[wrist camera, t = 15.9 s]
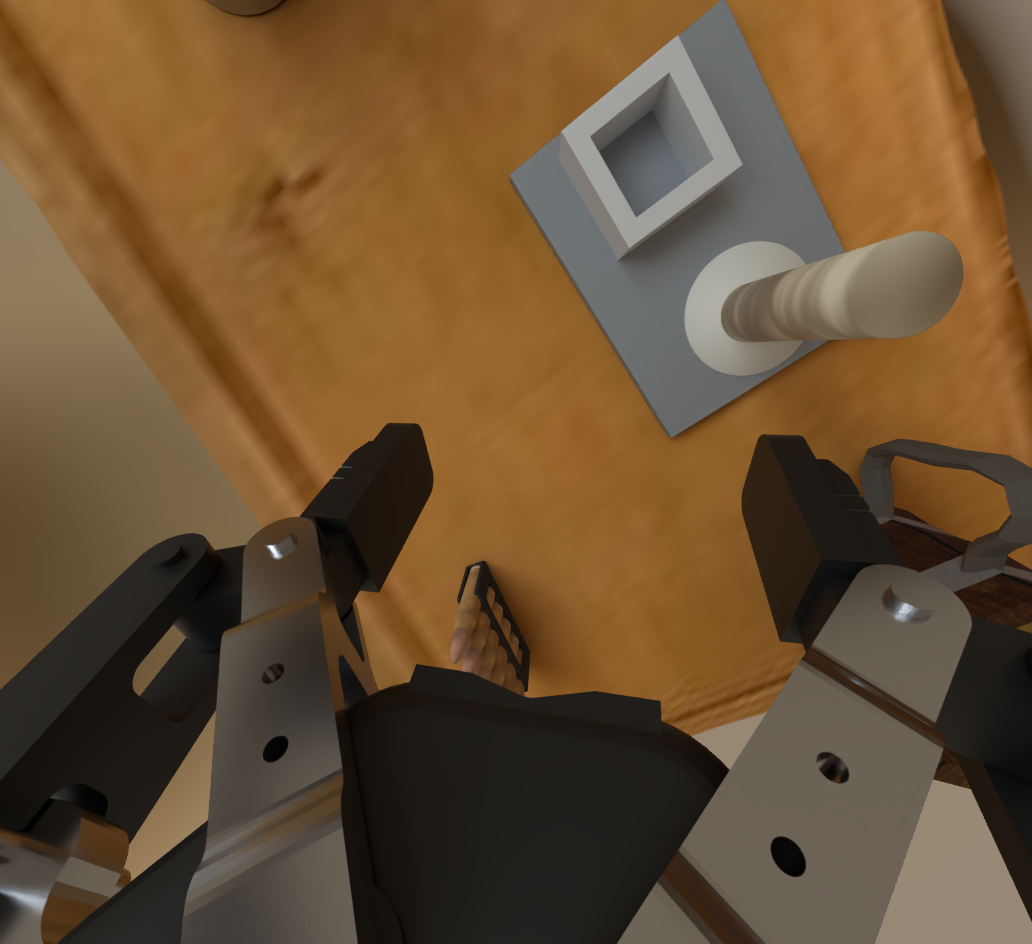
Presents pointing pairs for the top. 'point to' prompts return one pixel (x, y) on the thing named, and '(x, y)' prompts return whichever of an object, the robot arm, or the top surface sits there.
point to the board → (680, 216)
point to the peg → (852, 294)
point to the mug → (960, 542)
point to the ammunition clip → (488, 633)
